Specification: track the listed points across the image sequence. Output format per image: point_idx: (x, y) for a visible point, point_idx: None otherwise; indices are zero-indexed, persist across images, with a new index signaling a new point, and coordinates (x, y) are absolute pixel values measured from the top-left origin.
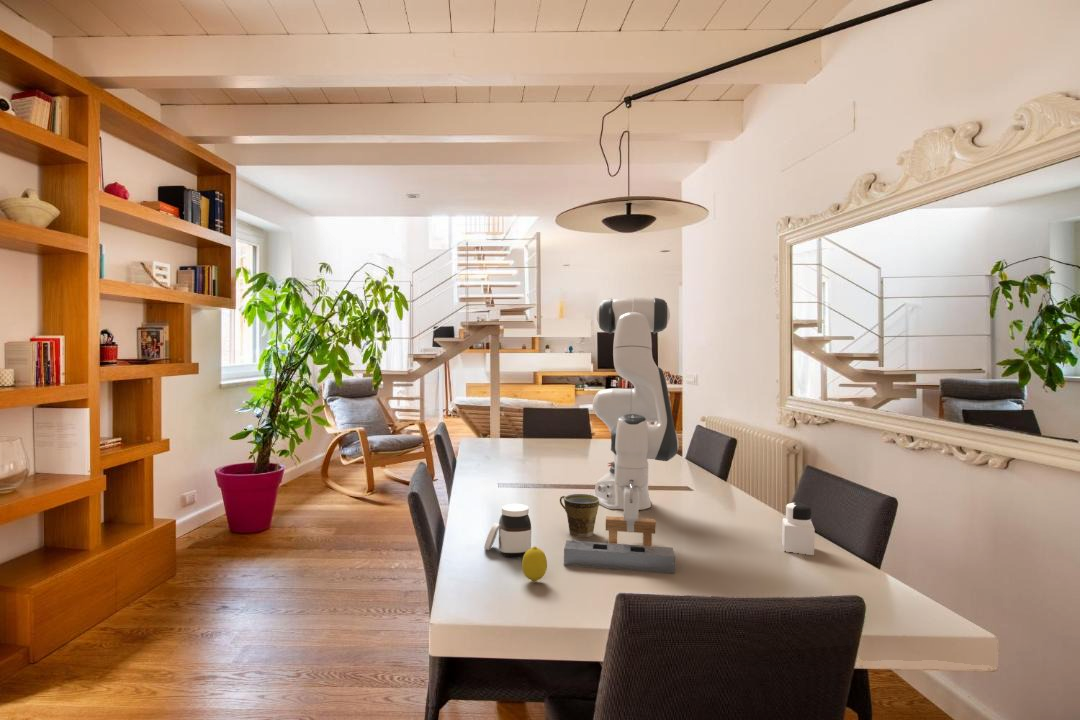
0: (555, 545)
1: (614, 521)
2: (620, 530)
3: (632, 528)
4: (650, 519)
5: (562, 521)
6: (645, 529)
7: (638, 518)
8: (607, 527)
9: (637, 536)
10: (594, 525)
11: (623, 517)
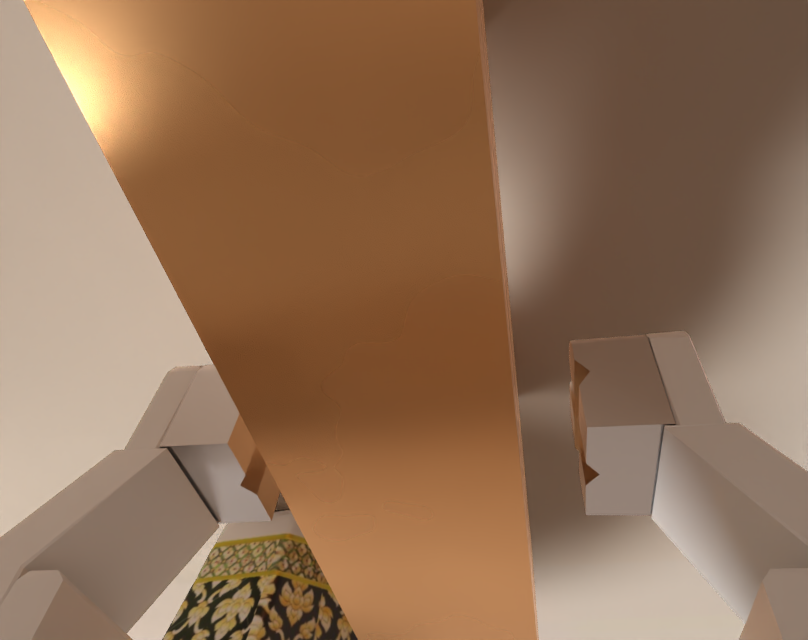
0: (607, 632)
1: (537, 635)
2: (523, 461)
3: (704, 394)
4: (147, 97)
5: (140, 629)
6: (492, 122)
7: (264, 407)
8: (534, 587)
9: (61, 172)
10: (270, 580)
11: (347, 593)
